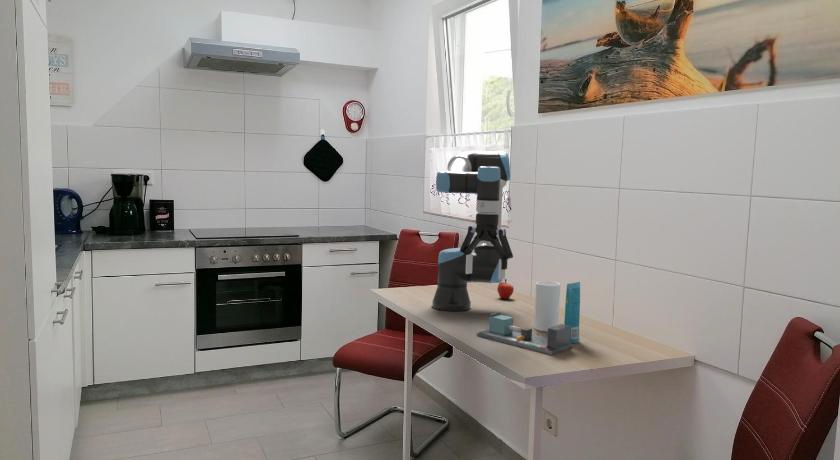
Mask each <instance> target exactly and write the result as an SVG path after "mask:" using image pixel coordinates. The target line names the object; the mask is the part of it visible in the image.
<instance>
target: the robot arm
mask: <svg viewBox="0 0 840 460" xmlns="http://www.w3.org/2000/svg"><path fill="white" fill-rule="evenodd" d="M508 181H509V182H510V181H511V165H510V157H509V154H508V153H507V152H505V151H498V150H496V151H493V150H490V151H488V150H486V151H485V150H477V151H476V150H468V151H463V152H461V153H458V154H456V155H454V156H452V157H451V159H449V161H448V163H447V170H441V171H437V173H436V178H435V188H436V192H437V193H445V194H468V195H469V194H471V195H472V194H474V195H475V194H476V204H475V205H476V209H475V211H476V212H477V213H476V214H475V225H476V226H475V225H471V226H470V225H469V226H468V227H467V232H466V235H465V238H464V240H463V241H462V244H461V246H460V247H456V248H455V247H454V248H453V247H451V248H446V249H443V250H440V252H439V254H438V261H437V287H436V290H435V293H434V296H433V298H432V305H433V306H432V305H431V306H432V308H434V307H435V308H434V309H436V308H437V310H439V309H440V311H447V312H463V311H468V310H470V309H471V306H472V303H471V299H470V295H469V290H468V283H469V282H470V283H482V284H483V283H488V284H499V283H501V282H503V281H504V279H506V270H507V269H508V260H510V259H512V258H514V254H513V252H512V249H511V246H510V243H509V240H508V236H507V231H506V228H502V211H503V210H502V209H503V207H502V206H503V189H504V188H505V187H506V186H507V184H508V183H507V182H508ZM475 233H476V235H475Z"/></svg>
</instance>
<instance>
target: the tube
mask: <svg viewBox="0 0 840 460" xmlns="http://www.w3.org/2000/svg"><path fill="white" fill-rule="evenodd" d="M564 307H565V308H564V319H563V320H564V323H563V325H568V326H570V339H569V343H571V344H577V343H579V341H580V317H581V315H580V314H581V313H580V309H581V282H580V281H576V282H572V283H571V282H570V283H567V284H566V292H565V306H564Z"/></svg>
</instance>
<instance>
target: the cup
mask: <svg viewBox="0 0 840 460" xmlns="http://www.w3.org/2000/svg"><path fill="white" fill-rule="evenodd" d="M534 297H535V298H534V299H535V301H534V303H535V304H534V318H533V320H534V321H533V322H534V323H533V329H534V330H537V331H541V332H547V333H548V328H551V327H554V326H557V325H559V317H560V302H561V301H560V298H561V283H559V282H558V281H549V280H547V281H546V280H545V281H544V280H541V281H536V283H535V296H534Z"/></svg>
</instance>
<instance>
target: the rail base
mask: <svg viewBox="0 0 840 460" xmlns="http://www.w3.org/2000/svg"><path fill="white" fill-rule="evenodd" d="M519 336H521V333H520V332H516V331H513V333H509V334H506V335H501V334H497V333H493V332H489V328H488V329H485V330H481V331H478V332H477V337H480V338H483V339H488V340H491V341H495V342H500V343H504V344H508V345H510V346H516V347H519V348H522V349H526V350H530V351H535V352H538V353H542V354H546V355H549V356H553V355H556V354H559V353H561V352H564V351H567V350H570V349H572V348H573V343H569V339H570V326H568V325H564V323H561V324H558V325H557V326H554V327H551V328H548V332H547V336H543V335H542V336H541V335H538V334H533V333H532V338H530V339H527V340H525V339H522V340H519V341H517V340H516V339H517V337H519Z"/></svg>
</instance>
